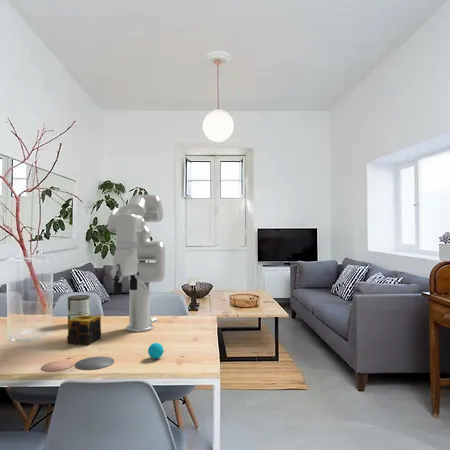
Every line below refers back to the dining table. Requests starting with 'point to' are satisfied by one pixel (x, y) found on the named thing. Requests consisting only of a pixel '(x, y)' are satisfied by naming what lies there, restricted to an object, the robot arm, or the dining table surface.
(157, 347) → the ball
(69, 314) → the coffee can
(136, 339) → the dining table surface
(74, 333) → the candle
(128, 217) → the robot arm
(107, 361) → the disc
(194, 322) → the dining table surface
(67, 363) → the disc
